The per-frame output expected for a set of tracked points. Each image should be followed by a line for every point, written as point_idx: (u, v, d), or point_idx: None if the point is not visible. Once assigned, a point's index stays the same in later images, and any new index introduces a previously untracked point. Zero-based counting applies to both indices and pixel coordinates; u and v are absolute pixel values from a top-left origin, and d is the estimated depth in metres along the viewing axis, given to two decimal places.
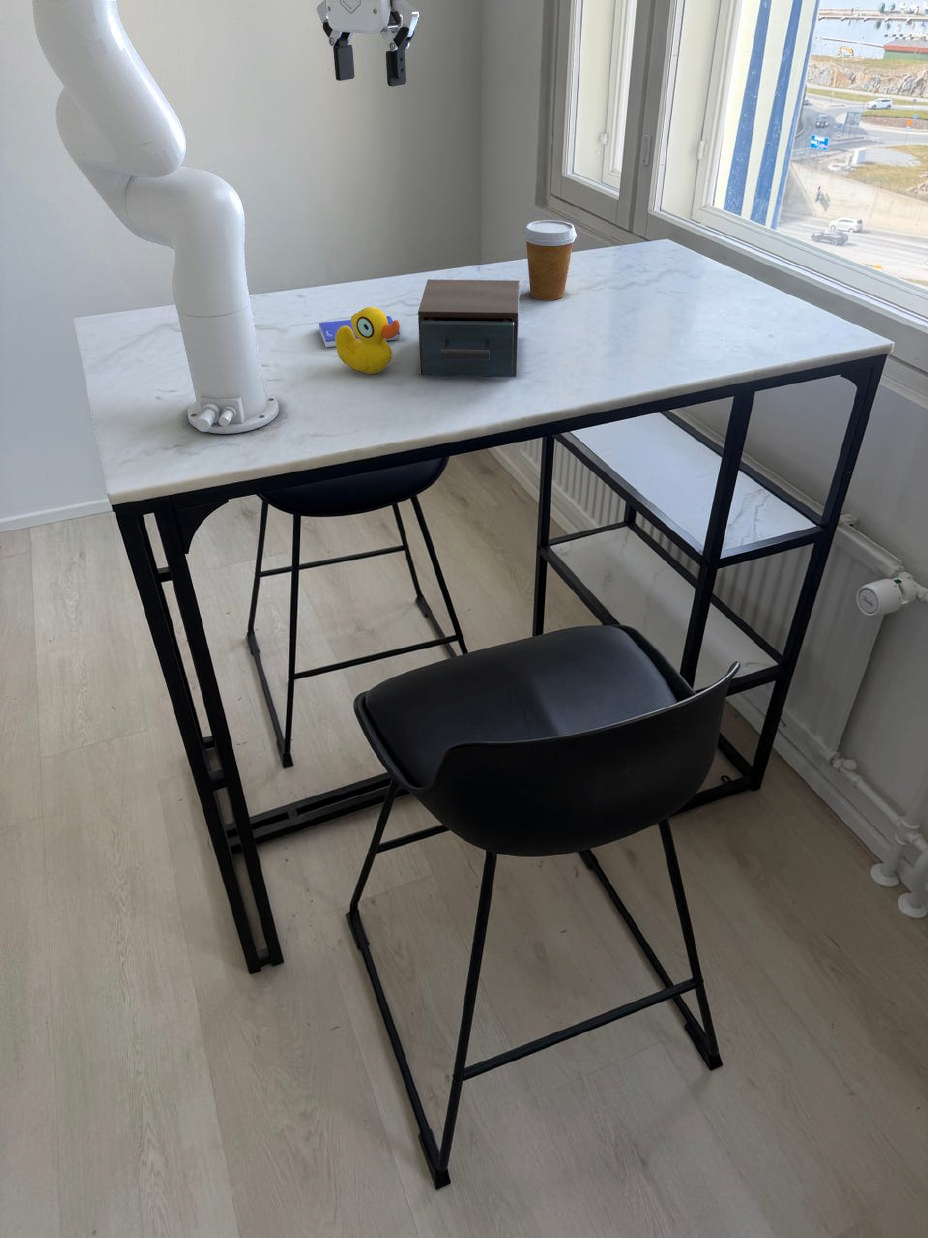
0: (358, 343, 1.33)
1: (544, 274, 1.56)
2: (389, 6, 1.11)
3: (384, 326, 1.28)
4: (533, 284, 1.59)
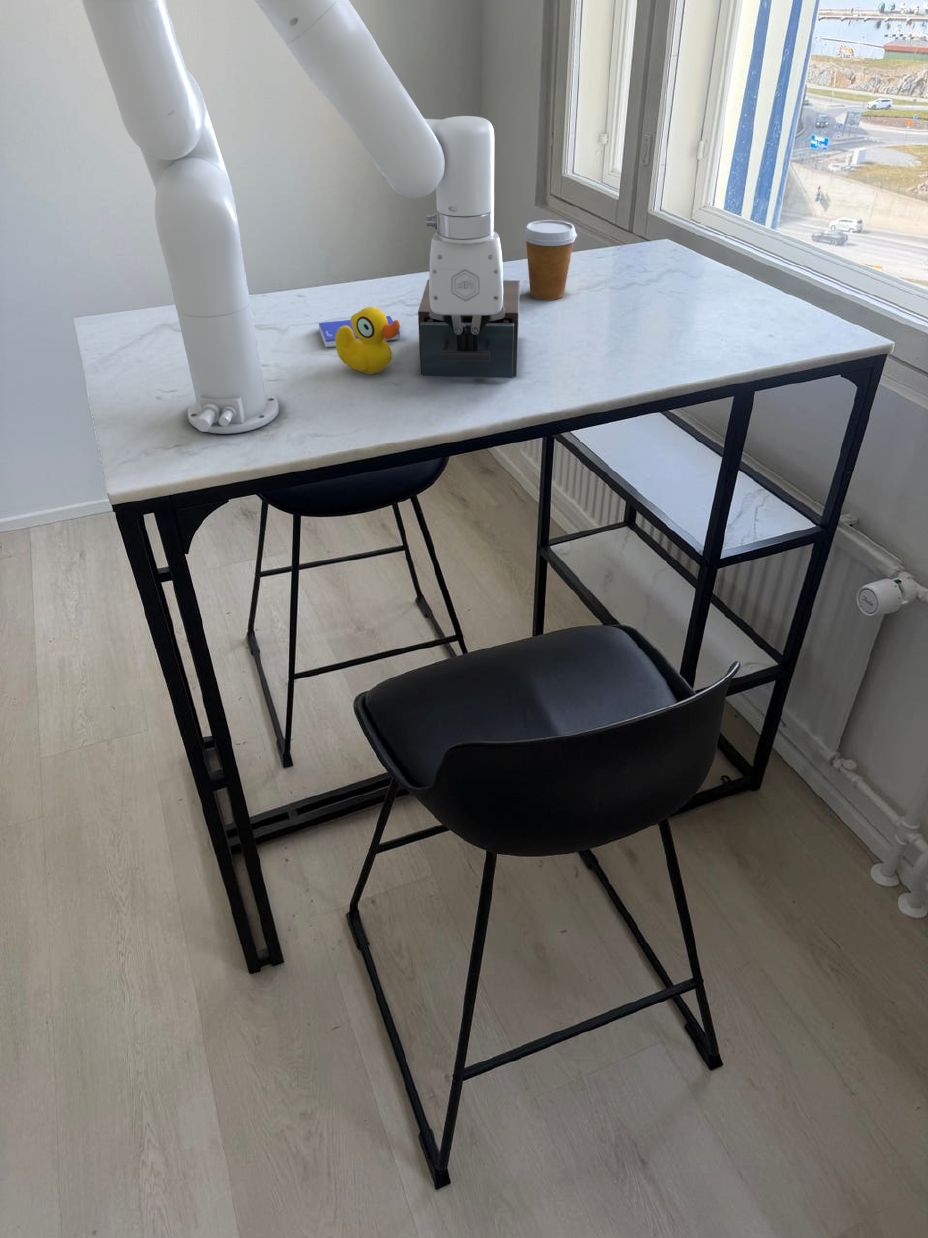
0: (358, 343, 1.33)
1: (544, 274, 1.56)
2: None
3: (384, 326, 1.28)
4: (533, 284, 1.59)
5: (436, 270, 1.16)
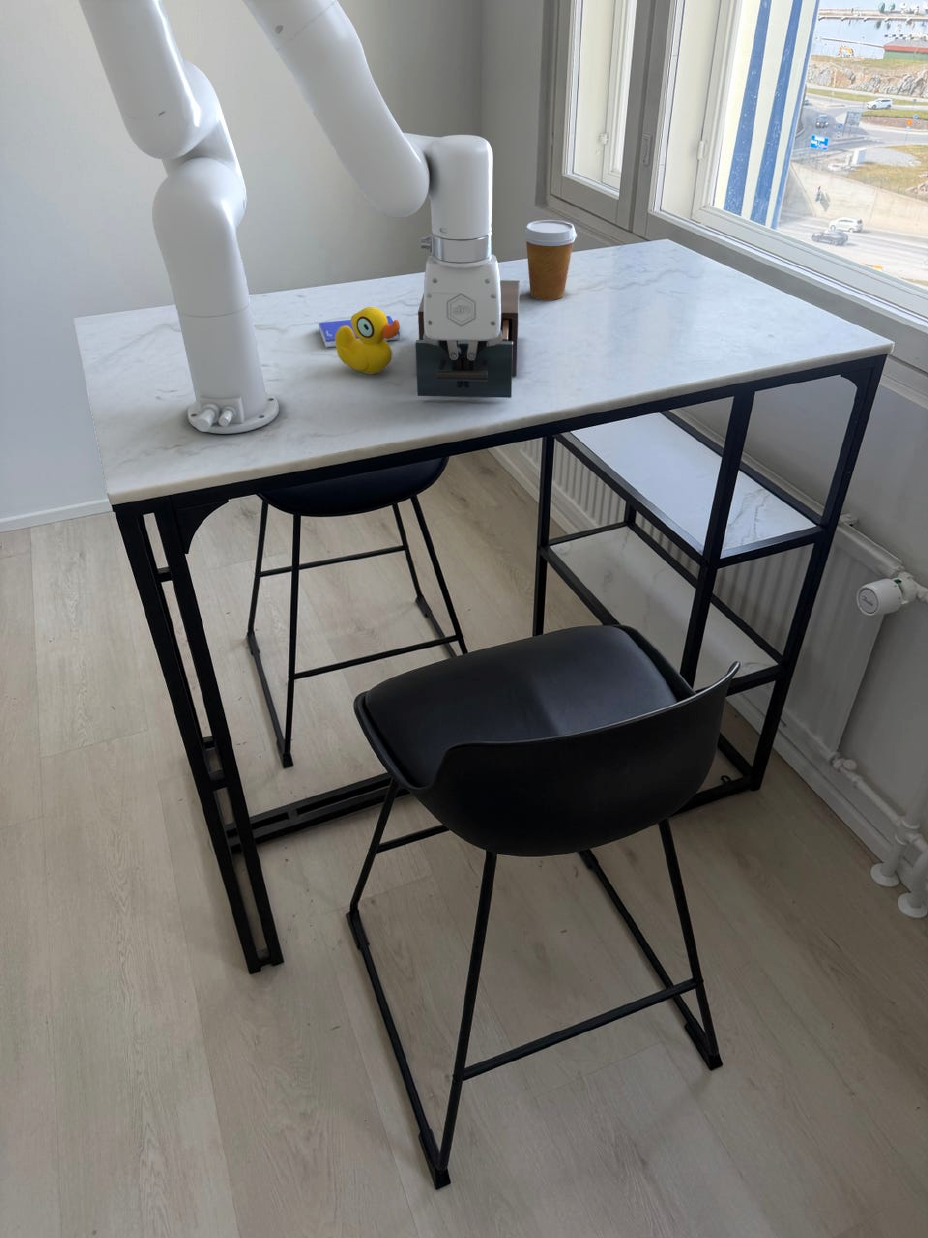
0: (358, 343, 1.33)
1: (544, 274, 1.56)
2: (500, 315, 1.14)
3: (384, 326, 1.28)
4: (533, 284, 1.59)
5: (430, 294, 1.12)
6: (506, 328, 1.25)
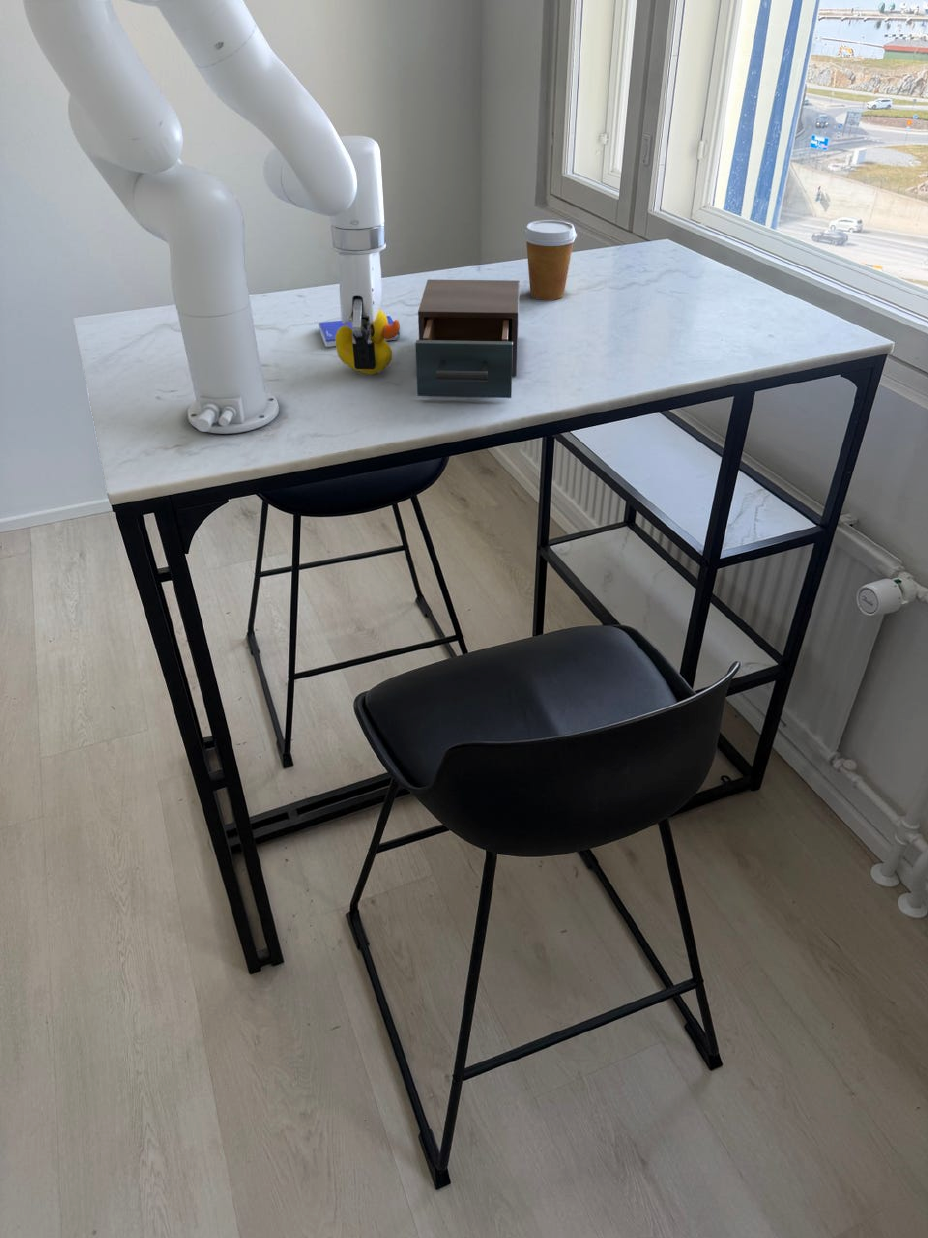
0: None
1: (544, 274, 1.56)
2: (351, 307, 1.24)
3: (384, 326, 1.28)
4: (533, 284, 1.59)
5: None
6: (506, 328, 1.25)
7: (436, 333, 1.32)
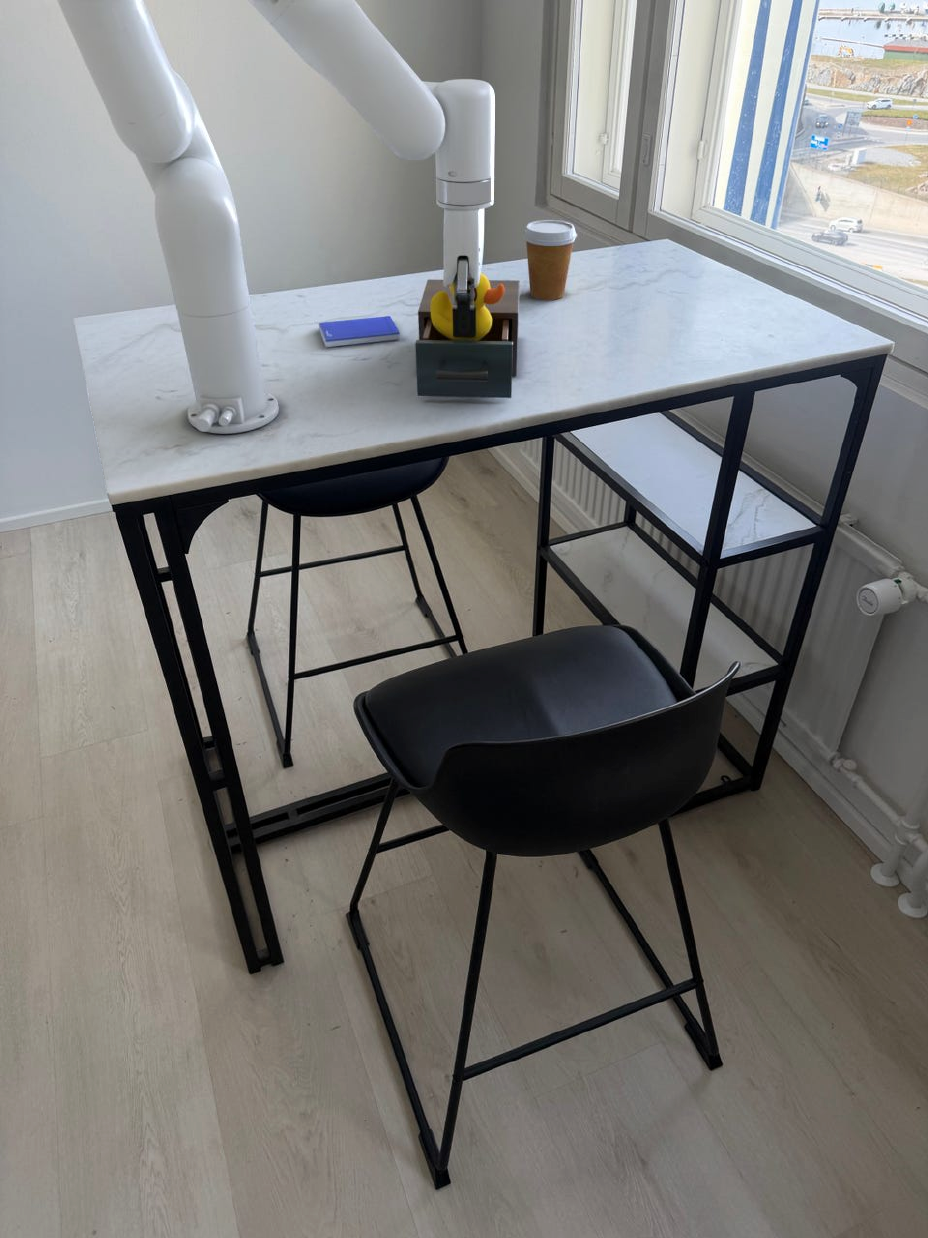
0: None
1: (544, 274, 1.56)
2: (455, 268, 1.14)
3: (487, 291, 1.19)
4: (533, 284, 1.59)
5: None
6: (506, 328, 1.25)
7: (436, 333, 1.32)
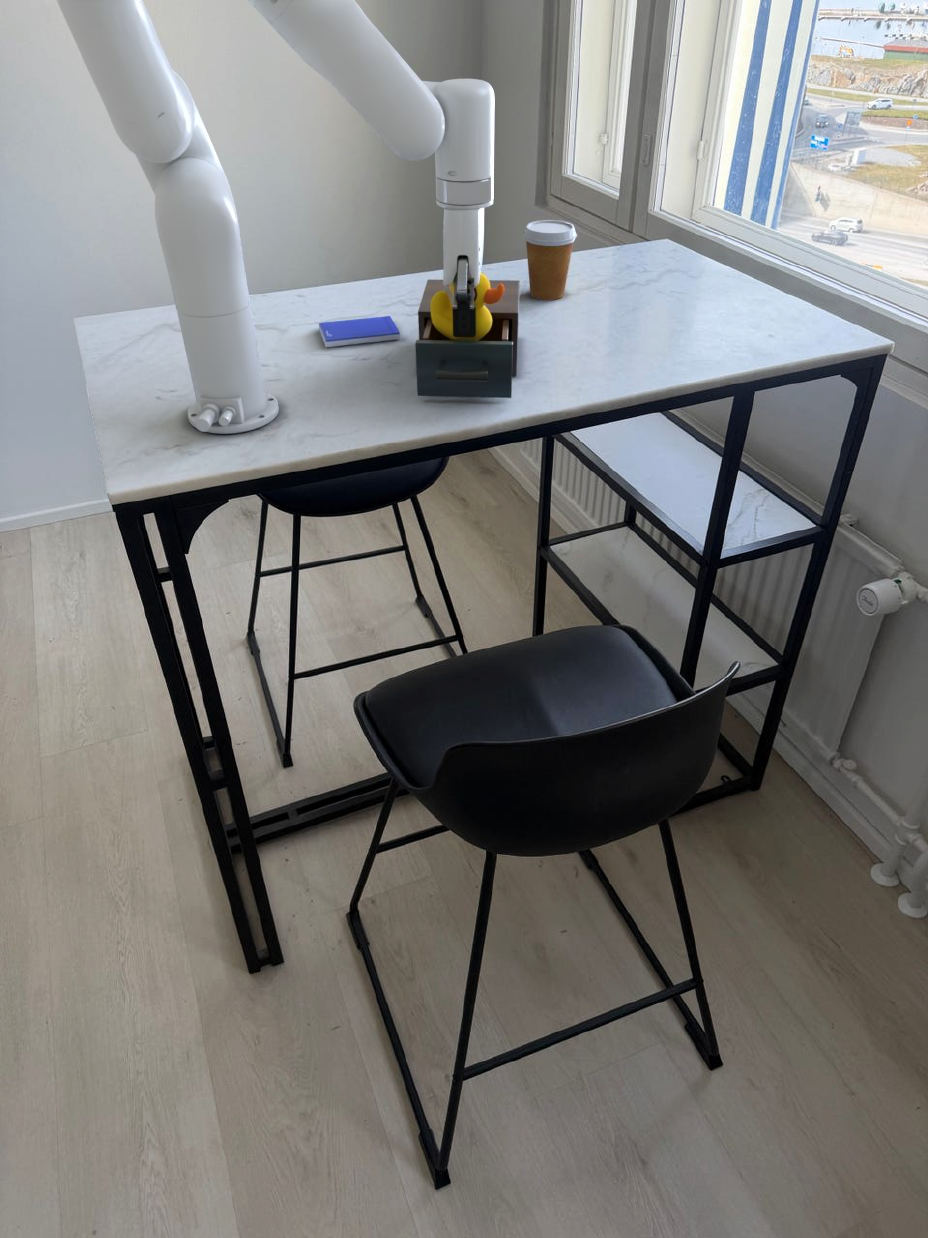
0: None
1: (544, 274, 1.56)
2: (455, 268, 1.14)
3: (487, 290, 1.19)
4: (533, 284, 1.59)
5: None
6: (506, 328, 1.25)
7: (436, 333, 1.32)
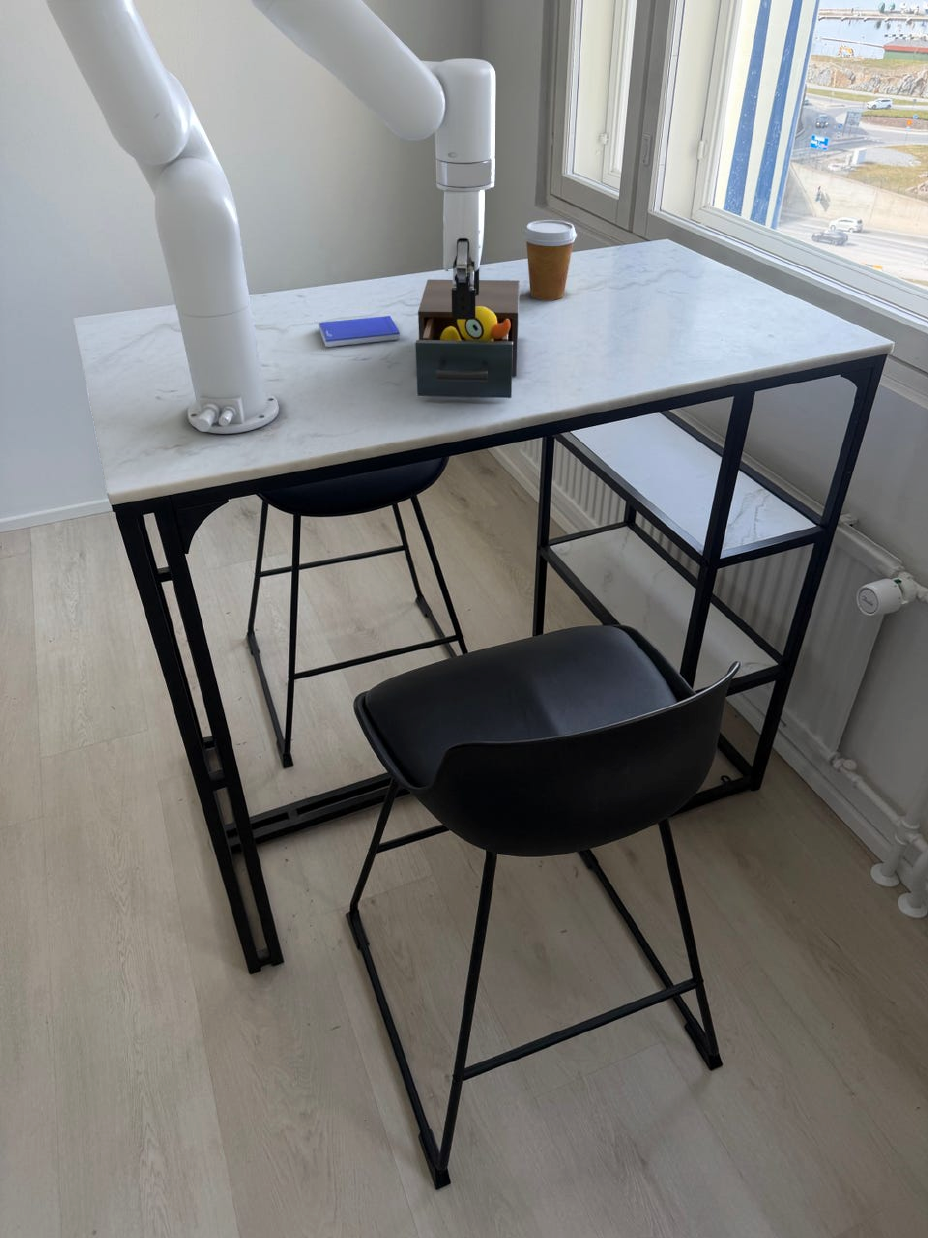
0: None
1: (544, 274, 1.56)
2: (455, 251, 1.13)
3: (494, 326, 1.21)
4: (533, 284, 1.59)
5: None
6: None
7: (436, 333, 1.32)
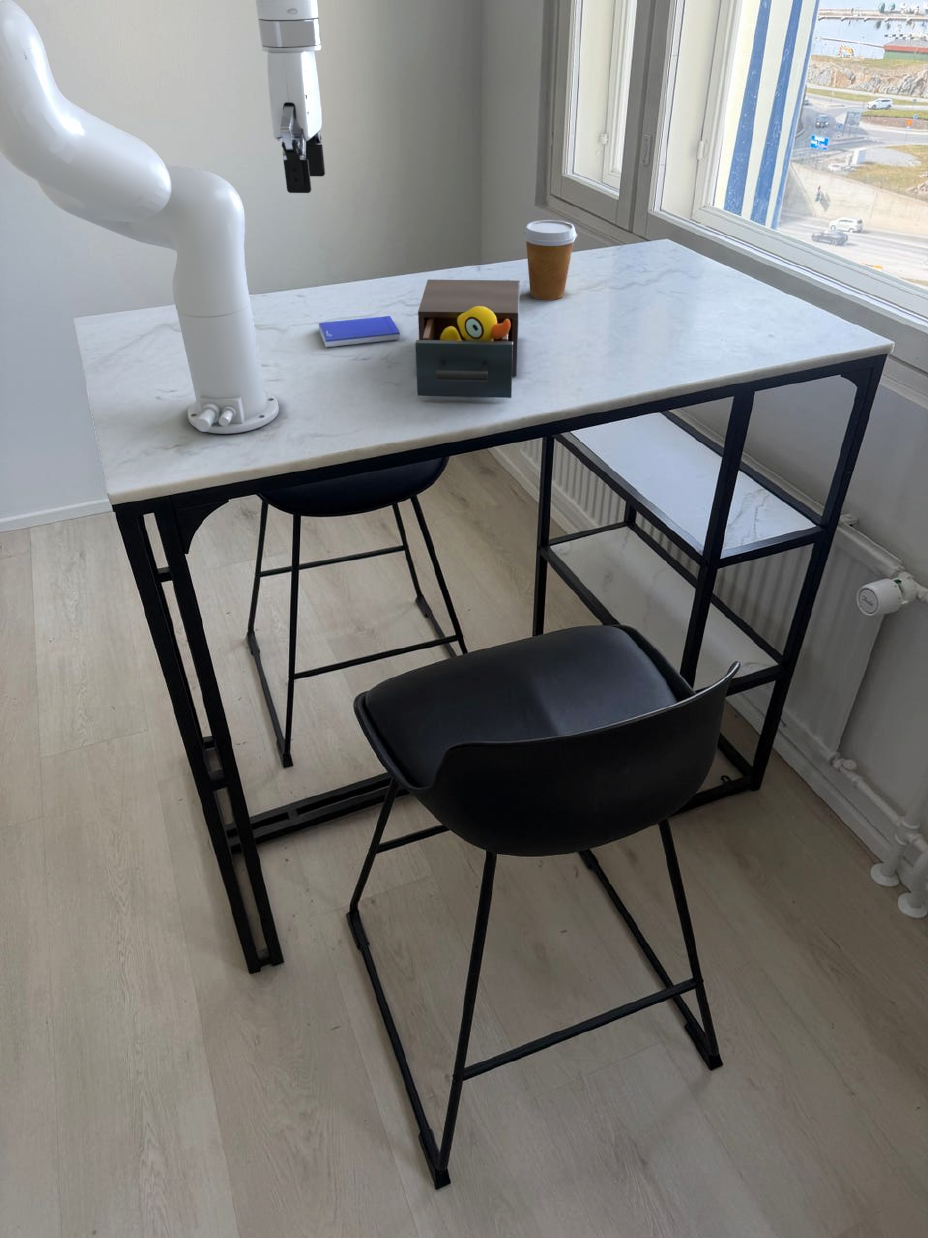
0: None
1: (544, 274, 1.56)
2: None
3: (494, 326, 1.21)
4: (533, 284, 1.59)
5: None
6: None
7: (436, 333, 1.32)
